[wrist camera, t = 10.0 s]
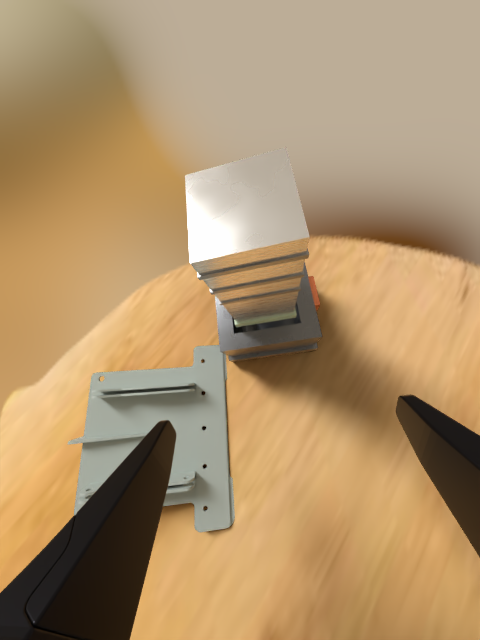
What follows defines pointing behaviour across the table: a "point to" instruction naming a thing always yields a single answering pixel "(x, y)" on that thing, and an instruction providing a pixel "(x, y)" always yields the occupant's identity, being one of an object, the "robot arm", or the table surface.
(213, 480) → the metal bracket
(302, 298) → the collar
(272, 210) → the column
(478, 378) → the table surface
